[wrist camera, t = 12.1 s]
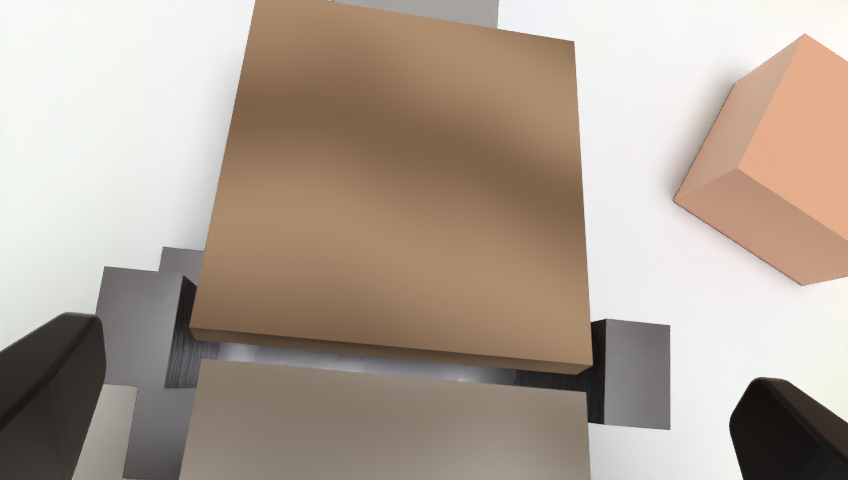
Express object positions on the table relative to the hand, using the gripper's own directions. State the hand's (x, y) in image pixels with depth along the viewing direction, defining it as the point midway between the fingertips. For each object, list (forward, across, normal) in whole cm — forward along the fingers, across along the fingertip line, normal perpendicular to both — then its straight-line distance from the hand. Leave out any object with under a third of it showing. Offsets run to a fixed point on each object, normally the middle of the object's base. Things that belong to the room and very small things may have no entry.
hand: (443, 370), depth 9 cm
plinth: (+16, -15, +3) cm, 22 cm away
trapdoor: (+8, 0, +3) cm, 9 cm away
